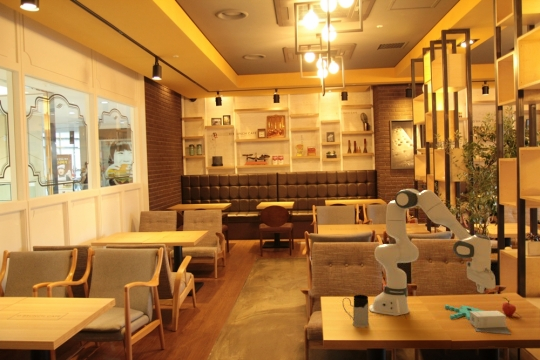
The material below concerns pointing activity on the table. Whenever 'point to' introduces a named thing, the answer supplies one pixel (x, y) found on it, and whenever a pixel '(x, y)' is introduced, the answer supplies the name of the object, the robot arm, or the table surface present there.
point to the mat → (494, 330)
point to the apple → (508, 308)
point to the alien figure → (461, 311)
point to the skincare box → (487, 319)
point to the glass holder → (360, 311)
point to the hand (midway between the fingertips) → (480, 292)
